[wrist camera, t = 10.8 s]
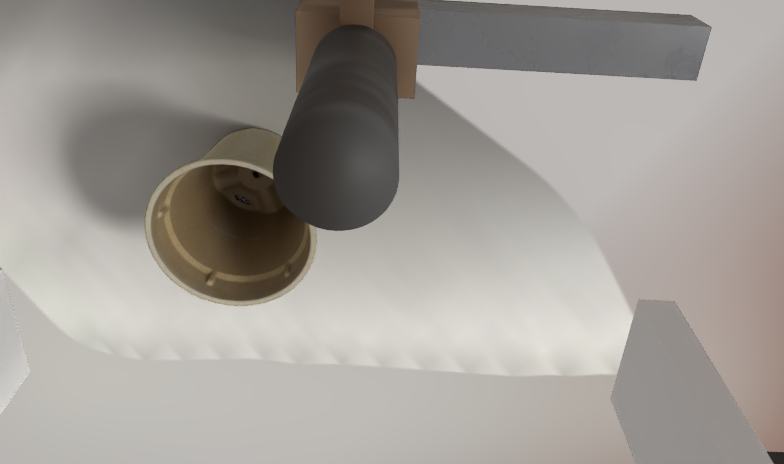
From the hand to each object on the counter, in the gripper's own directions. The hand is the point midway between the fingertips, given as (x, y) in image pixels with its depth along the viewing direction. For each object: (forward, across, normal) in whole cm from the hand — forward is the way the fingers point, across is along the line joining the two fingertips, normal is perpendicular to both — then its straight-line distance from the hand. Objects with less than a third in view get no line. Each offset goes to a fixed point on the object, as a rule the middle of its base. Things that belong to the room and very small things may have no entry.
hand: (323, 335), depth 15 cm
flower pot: (+30, +7, +10) cm, 32 cm away
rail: (+30, -9, 0) cm, 31 cm away
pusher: (+29, 0, -6) cm, 30 cm away
